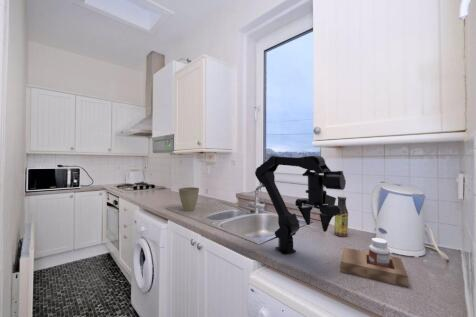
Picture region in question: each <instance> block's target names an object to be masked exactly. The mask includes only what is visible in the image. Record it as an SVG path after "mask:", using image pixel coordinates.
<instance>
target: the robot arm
mask: <svg viewBox="0 0 476 317" xmlns="http://www.w3.org/2000/svg"><path fill="white" fill-rule="evenodd" d="M279 166H288V167H299V168H302V169H304V170H305V171H304V173H302V176H303V177H307V189H306V190H305V194H307V198H306V197H303V198H297V199H296V200H295V206H296V207H297V209H298V210H299V212H300V214H301V216H302V218H303V219H304V222H305V224H306V225H307V226H310V224H311V211H312V210H313V209H318V210H319V212H320V213H319V219H320V222H321V227H322V230H323V232H324V233H325V232H327V231H328V228H329V226H330V223H331V221H332V219H333V218H335V216H336V215H337V214H340V208H339V206H338V204H336V200H337V198H336V197H334V196H332V195H329V194H327V191H326V190H325V189H328V190H336V191H337V190H338V191H344V190H345V188H346V177H345V175H344V171H343V170H336V171H335V170H334V171H333V170H331V169H330V167H329V166H328V165H327V164H326V161H325V158H324V157H323V156H321V155H307V156H306V155H305V156H302V157H295V156H294V157H292V156H279V155H271V156H270V157H269V158H268V159H267V160H266V161H264V162H263V163H261V165H260V166H258V167H257V168H256V169H255V172H254V175H255V177H256V179H257V180H258V182H259V183H260V184H262V186H264V188H265V189H266V190H265V191H266V192H267V194H268V196H269V199H270V201H271V203H272V205H273V207H274V210H275V211H276V213H277V218H278V220H277V223H278V226H279V228H277V229H276V231H274V235H275V238H277V239H278V244H277V245H278V246H275V249H276V250H277V251H278V252H279V253H281V254H283V255H287V254H291V253H296V252H297V251H296V249H294V237H293V236H295V235H296V234H297V232H298V231H300V230H299V229H300V221H299V219H298V217H297V215H296V213H295V212H294V213H291V212H290V211H289V209H288V207H287V206H286V203H285V201H284V199H283V197H282V194H281V192H280V190H279V188H278V187H277V185H276V183H275V172H276V171H277V169H278V167H279ZM324 187H325V189H324Z"/></svg>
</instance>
